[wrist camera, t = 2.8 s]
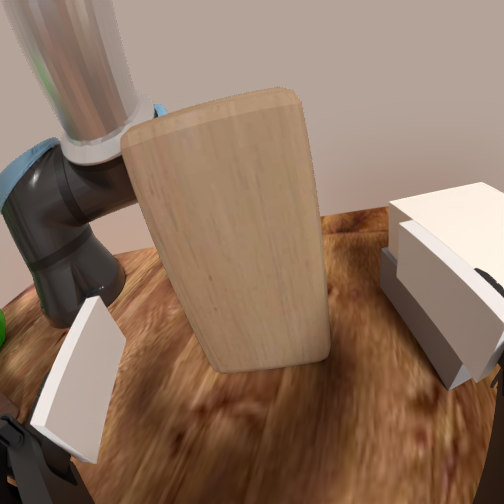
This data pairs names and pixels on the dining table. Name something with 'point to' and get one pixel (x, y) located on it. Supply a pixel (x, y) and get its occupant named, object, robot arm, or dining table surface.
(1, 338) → the plastic bottle
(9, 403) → the decorative block
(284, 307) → the wooden block
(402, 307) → the tower base
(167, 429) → the dining table surface
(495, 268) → the tower top
